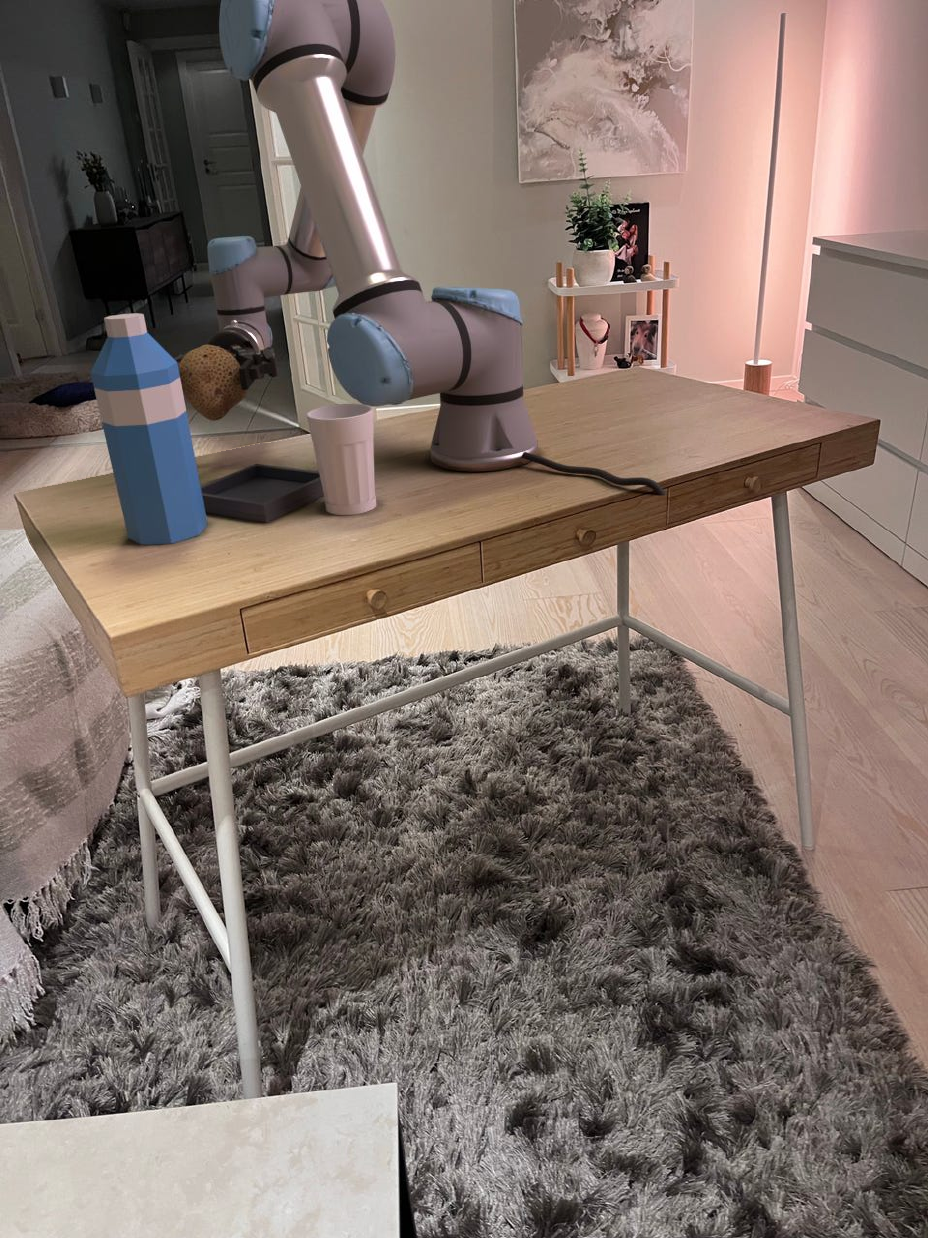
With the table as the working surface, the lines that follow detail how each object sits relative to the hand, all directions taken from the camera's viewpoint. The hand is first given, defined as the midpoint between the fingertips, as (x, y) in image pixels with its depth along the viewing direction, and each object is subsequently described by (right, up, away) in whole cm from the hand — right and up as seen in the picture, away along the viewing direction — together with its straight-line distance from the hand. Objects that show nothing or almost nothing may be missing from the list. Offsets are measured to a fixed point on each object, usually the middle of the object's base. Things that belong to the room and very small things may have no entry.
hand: (205, 381), depth 123 cm
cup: (+20, -17, -5) cm, 27 cm away
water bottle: (-2, -21, -9) cm, 23 cm away
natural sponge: (0, -4, +7) cm, 8 cm away
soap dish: (+7, -15, 0) cm, 17 cm away
